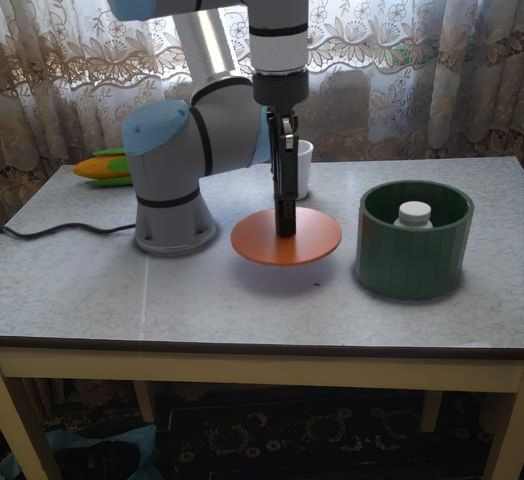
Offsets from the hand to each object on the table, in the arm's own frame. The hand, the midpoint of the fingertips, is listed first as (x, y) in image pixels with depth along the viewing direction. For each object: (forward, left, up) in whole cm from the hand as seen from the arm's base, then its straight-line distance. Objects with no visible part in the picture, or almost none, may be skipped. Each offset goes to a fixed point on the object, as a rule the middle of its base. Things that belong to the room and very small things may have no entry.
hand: (285, 227), depth 84 cm
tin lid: (0, 0, -1) cm, 1 cm away
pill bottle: (+19, -5, -8) cm, 21 cm away
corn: (-32, +45, -8) cm, 56 cm away
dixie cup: (+6, +29, -8) cm, 31 cm away
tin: (+19, -5, -8) cm, 21 cm away
